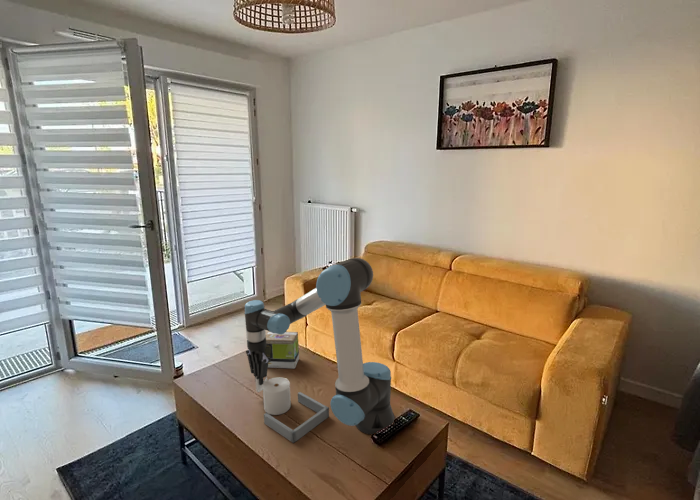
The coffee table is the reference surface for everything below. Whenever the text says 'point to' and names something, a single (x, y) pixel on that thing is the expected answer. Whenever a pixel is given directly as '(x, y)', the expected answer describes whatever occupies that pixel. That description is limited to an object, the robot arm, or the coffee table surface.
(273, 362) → the tea box
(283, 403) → the toilet tissue
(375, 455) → the coffee table surface
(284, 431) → the grey u-shaped bracket
